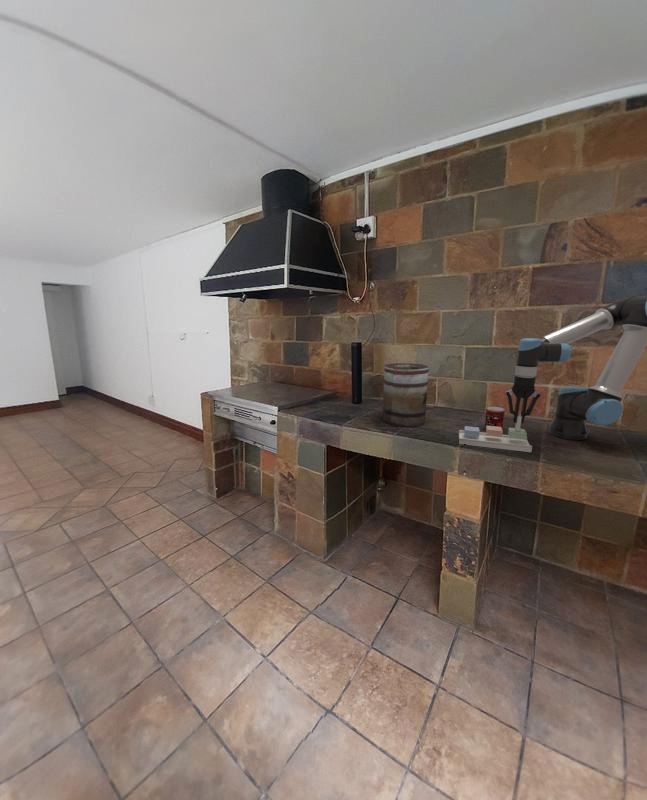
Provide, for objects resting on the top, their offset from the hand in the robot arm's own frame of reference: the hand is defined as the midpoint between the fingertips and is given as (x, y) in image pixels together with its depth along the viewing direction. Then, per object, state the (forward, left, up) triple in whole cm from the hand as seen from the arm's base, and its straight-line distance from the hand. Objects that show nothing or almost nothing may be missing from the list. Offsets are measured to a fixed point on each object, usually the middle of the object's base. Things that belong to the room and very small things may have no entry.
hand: (517, 430), depth 145 cm
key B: (+9, 0, -3) cm, 9 cm away
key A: (0, 0, -3) cm, 3 cm away
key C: (+18, 0, -5) cm, 18 cm away
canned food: (+7, -20, -8) cm, 23 cm away
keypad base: (+9, 0, -7) cm, 11 cm away
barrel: (+51, -20, -8) cm, 55 cm away
